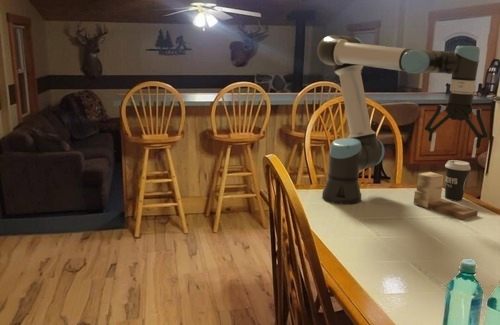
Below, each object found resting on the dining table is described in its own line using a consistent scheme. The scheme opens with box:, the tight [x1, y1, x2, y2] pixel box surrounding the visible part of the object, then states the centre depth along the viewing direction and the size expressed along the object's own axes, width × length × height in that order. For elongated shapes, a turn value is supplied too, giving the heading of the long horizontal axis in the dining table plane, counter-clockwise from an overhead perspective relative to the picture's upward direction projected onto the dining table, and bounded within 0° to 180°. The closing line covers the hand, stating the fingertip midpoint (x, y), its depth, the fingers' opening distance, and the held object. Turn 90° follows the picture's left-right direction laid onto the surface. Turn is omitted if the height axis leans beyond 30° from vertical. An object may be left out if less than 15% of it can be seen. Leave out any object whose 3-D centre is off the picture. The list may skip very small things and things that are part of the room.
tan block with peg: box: [413, 171, 445, 209], centre depth 180 cm, size 6×10×12 cm, turn 121°
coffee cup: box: [444, 159, 472, 202], centre depth 189 cm, size 10×10×15 cm
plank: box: [427, 198, 479, 221], centre depth 177 cm, size 21×9×2 cm, turn 31°
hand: (452, 153), depth 164 cm, fingers open, 13 cm apart
